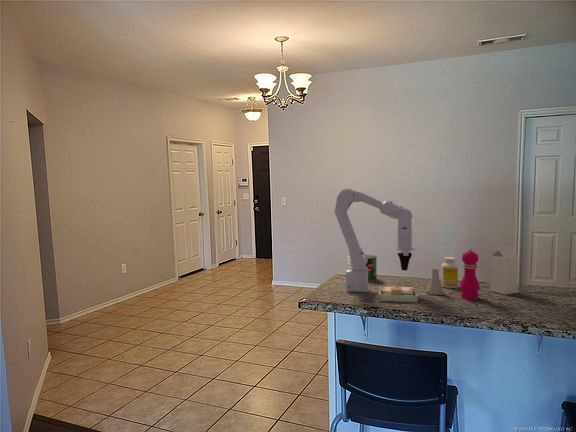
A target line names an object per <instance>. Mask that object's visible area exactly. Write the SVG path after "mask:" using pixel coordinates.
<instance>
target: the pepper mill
mask: <svg viewBox="0 0 576 432" xmlns="http://www.w3.org/2000/svg"><path fill="white" fill-rule="evenodd" d="M461 260H462V262H463V264H462V268H463V270H464V271H463V277H462V279H461V280H460V282H459V283H460V284H459V289H460V290H461V292H460V297H461V299H464V300H467V299H468V300H469V301H470V300H471V301H476V300H478V299H479V293H478V292H479V291H480V288H481V287H480V282H479V280H478V277H477V274H476V269H477V267H478V265H477V263H478V262H479V255H478V254H477V253H476V252H475V251H473V248H472V247H468V248H467V251H465V252H463V253H462V255H461Z"/></svg>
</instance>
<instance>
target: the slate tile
mask: <svg viewBox="0 0 576 432" xmlns="http://www.w3.org/2000/svg"><path fill="white" fill-rule="evenodd" d="M402 295H413V291H402Z"/></svg>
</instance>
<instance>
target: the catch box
mask: <svg viewBox="0 0 576 432" xmlns="http://www.w3.org/2000/svg"><path fill="white" fill-rule="evenodd" d="M387 301H395V302H394V303H419V295H418V293H417V291H415V296H413V295H381V294H380V291H379V290H378V302H387Z"/></svg>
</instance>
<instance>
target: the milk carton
mask: <svg viewBox="0 0 576 432" xmlns="http://www.w3.org/2000/svg"><path fill="white" fill-rule="evenodd" d="M518 270H519V256H518V254H516V252H514V250H513V249H512V245H508V246H498V247H497V250H496V251H495V252H494V253H492V254H491V255H490V291H491V292H494V293H496V294H497V293H498V294H502V295H511V294H517V293H518V283H519V281H518V279H519V277H518V275H519V271H518Z"/></svg>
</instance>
